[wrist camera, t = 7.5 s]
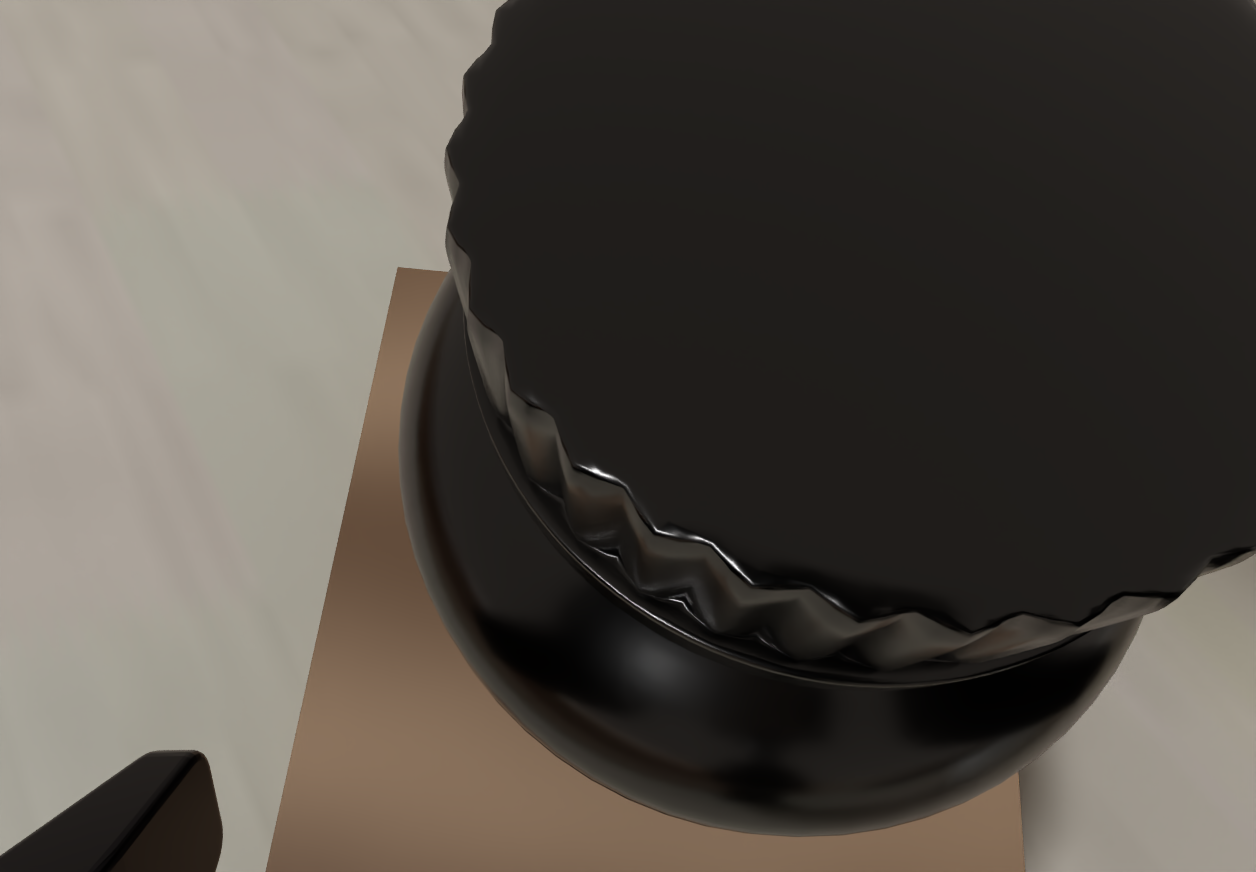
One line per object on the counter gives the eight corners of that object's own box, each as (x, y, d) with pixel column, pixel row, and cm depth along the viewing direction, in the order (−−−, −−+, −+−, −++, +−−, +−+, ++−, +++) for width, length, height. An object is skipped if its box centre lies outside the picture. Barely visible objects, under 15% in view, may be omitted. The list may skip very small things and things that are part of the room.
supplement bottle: (453, 479, 16) (131, -185, 5) (793, 375, 17) (1153, -373, 6) (564, 870, 14) (420, 1234, 3) (950, 725, 15) (1993, 558, 4)
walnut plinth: (959, 976, 16) (1035, 1016, 13) (310, 912, 16) (251, 938, 13) (934, 386, 21) (987, 323, 18) (424, 337, 21) (397, 267, 18)
